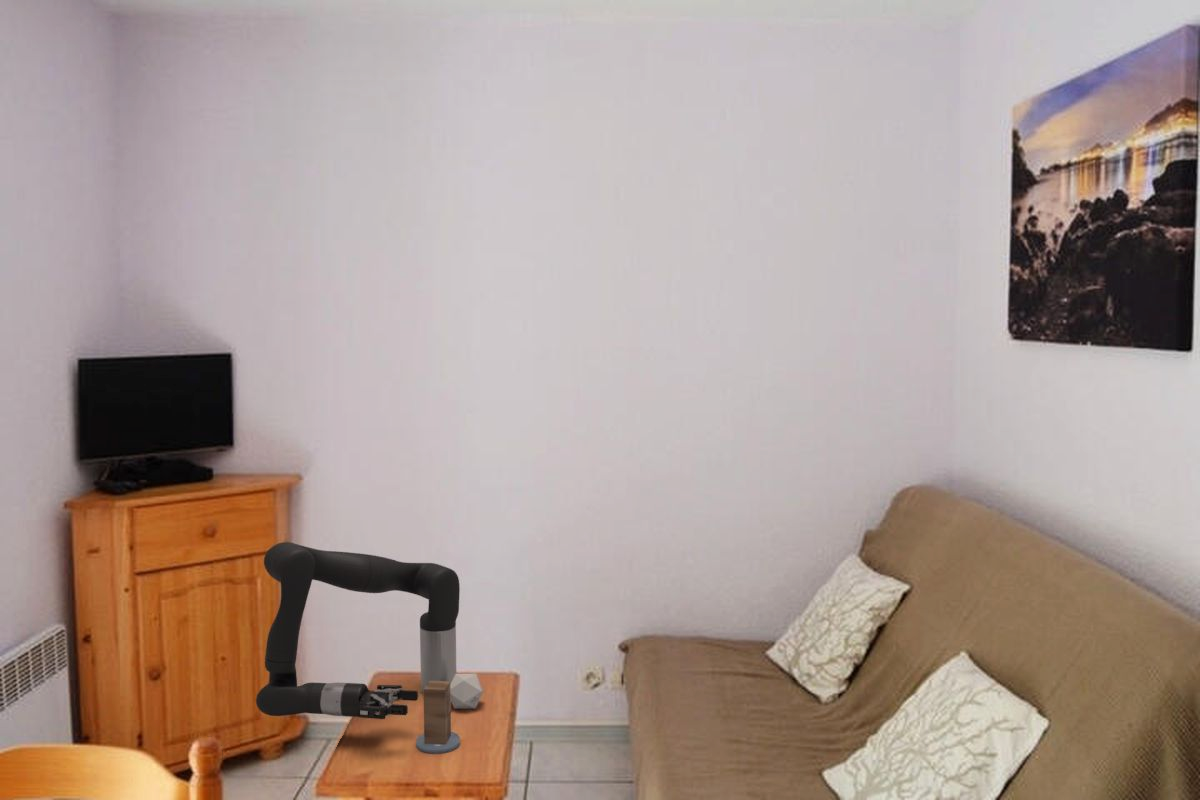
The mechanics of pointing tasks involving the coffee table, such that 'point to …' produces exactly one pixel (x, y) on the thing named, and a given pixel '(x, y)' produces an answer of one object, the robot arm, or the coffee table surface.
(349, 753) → the coffee table surface
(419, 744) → the slate dish
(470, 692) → the die
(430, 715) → the walnut block
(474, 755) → the coffee table surface
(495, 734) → the coffee table surface
